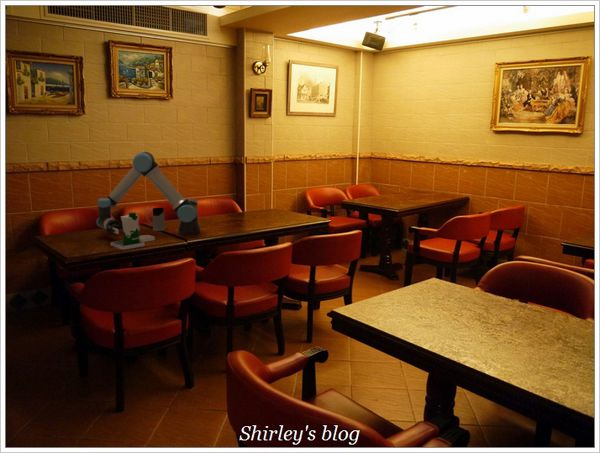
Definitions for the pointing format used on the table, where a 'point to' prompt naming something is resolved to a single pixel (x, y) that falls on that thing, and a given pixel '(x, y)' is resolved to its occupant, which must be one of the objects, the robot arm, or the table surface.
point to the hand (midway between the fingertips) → (128, 230)
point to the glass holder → (158, 219)
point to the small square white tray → (146, 238)
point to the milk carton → (130, 229)
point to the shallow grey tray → (120, 245)
